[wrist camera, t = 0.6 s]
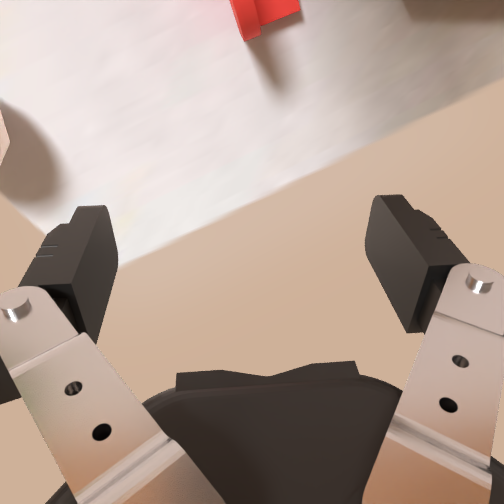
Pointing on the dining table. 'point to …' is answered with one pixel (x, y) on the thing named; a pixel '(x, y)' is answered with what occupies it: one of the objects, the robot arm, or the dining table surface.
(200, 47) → the dining table surface
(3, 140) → the geometric ball
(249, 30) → the bracket
